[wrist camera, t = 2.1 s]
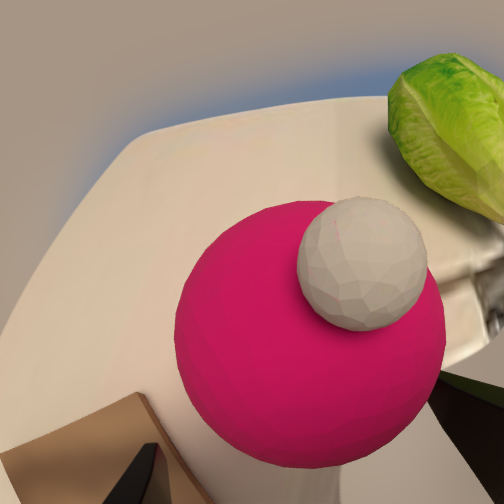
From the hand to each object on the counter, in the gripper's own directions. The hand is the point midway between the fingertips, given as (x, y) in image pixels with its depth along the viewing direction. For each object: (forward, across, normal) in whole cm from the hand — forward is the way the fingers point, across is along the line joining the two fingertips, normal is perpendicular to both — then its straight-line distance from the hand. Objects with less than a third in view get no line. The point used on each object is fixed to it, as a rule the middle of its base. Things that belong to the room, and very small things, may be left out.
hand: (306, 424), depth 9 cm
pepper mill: (+10, 0, +8) cm, 13 cm away
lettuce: (+22, -26, -4) cm, 34 cm away
